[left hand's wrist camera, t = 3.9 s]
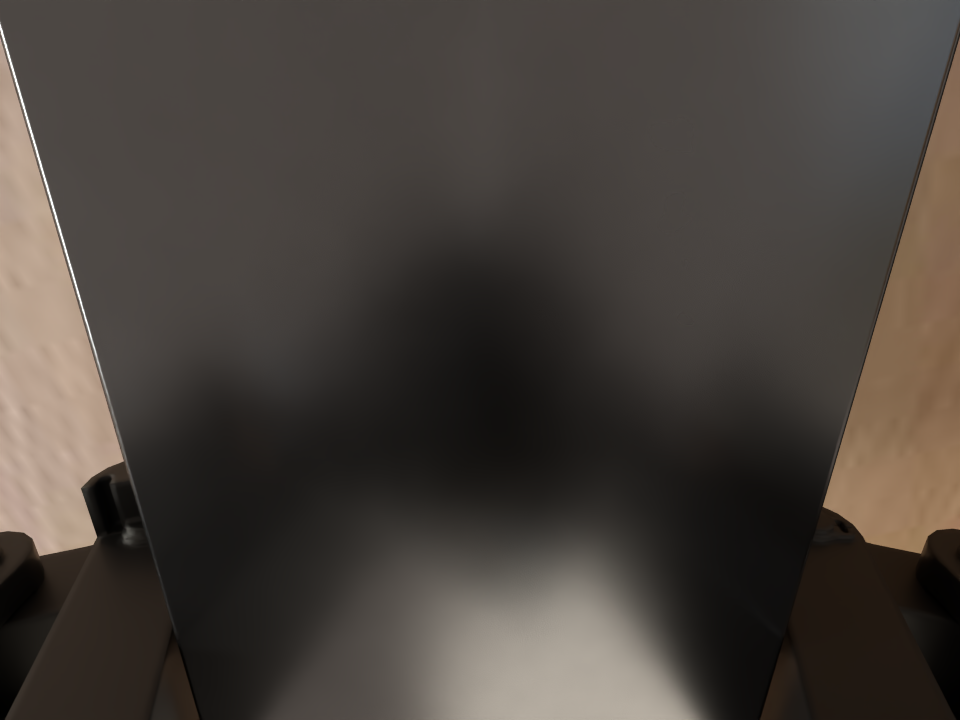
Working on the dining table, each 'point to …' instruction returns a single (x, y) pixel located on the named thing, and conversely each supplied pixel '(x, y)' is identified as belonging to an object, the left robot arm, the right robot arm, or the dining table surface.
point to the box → (479, 327)
